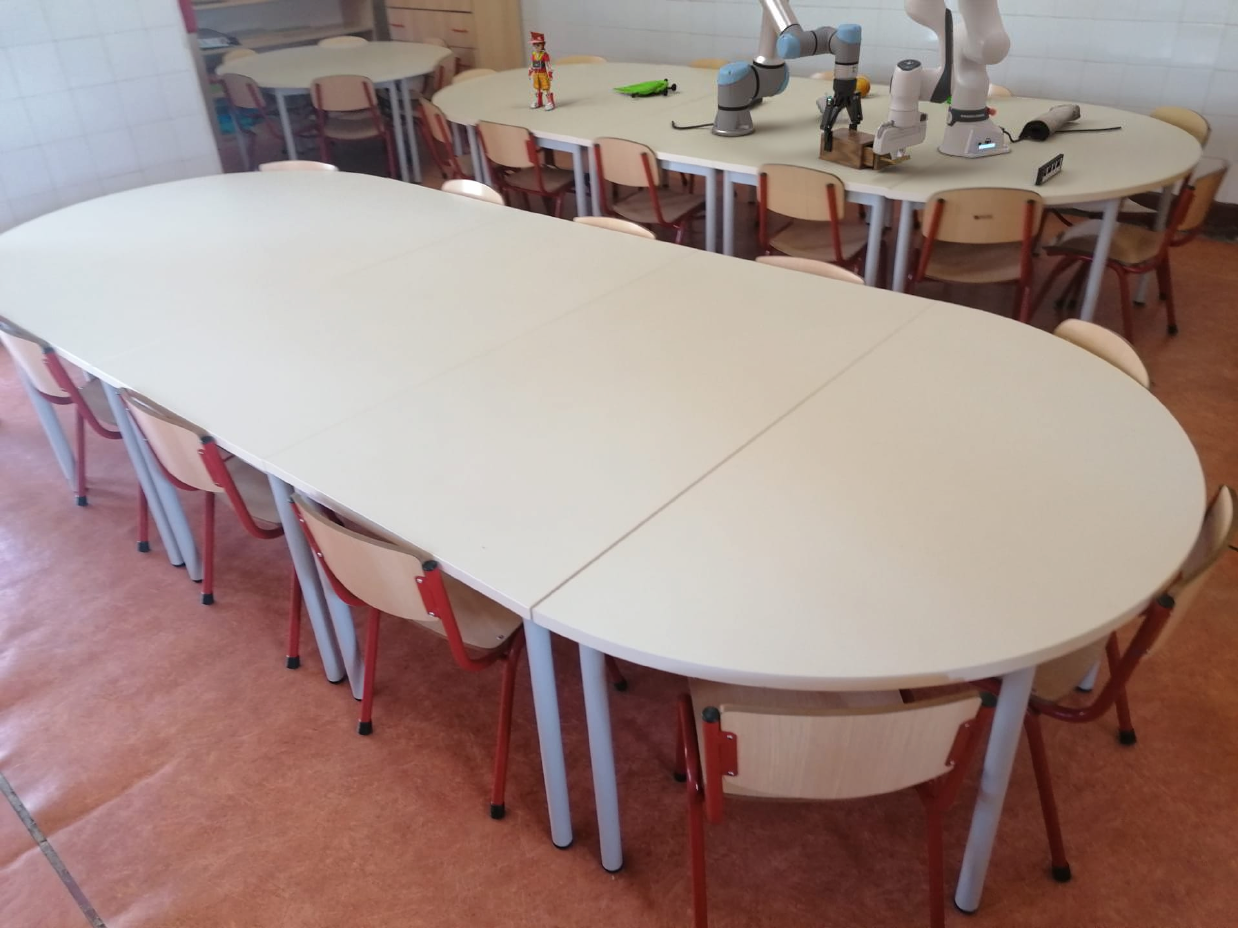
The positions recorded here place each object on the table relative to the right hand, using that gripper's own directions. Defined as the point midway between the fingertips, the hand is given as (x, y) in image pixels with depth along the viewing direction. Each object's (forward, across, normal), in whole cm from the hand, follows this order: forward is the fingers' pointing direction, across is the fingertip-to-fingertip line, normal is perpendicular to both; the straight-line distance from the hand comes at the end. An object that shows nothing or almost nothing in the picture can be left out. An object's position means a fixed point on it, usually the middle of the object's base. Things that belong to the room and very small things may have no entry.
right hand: (896, 163), depth 285 cm
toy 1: (+4, -37, +162) cm, 166 cm away
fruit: (+3, +66, +78) cm, 102 cm away
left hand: (0, 0, +24) cm, 24 cm away
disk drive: (+3, +24, +102) cm, 104 cm away
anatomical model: (+3, +33, +62) cm, 70 cm away
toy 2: (+4, +8, +153) cm, 153 cm away
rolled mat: (+3, +74, -4) cm, 74 cm away
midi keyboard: (+3, +29, -35) cm, 45 cm away
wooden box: (+3, 0, +19) cm, 20 cm away
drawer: (+2, 0, +9) cm, 9 cm away
